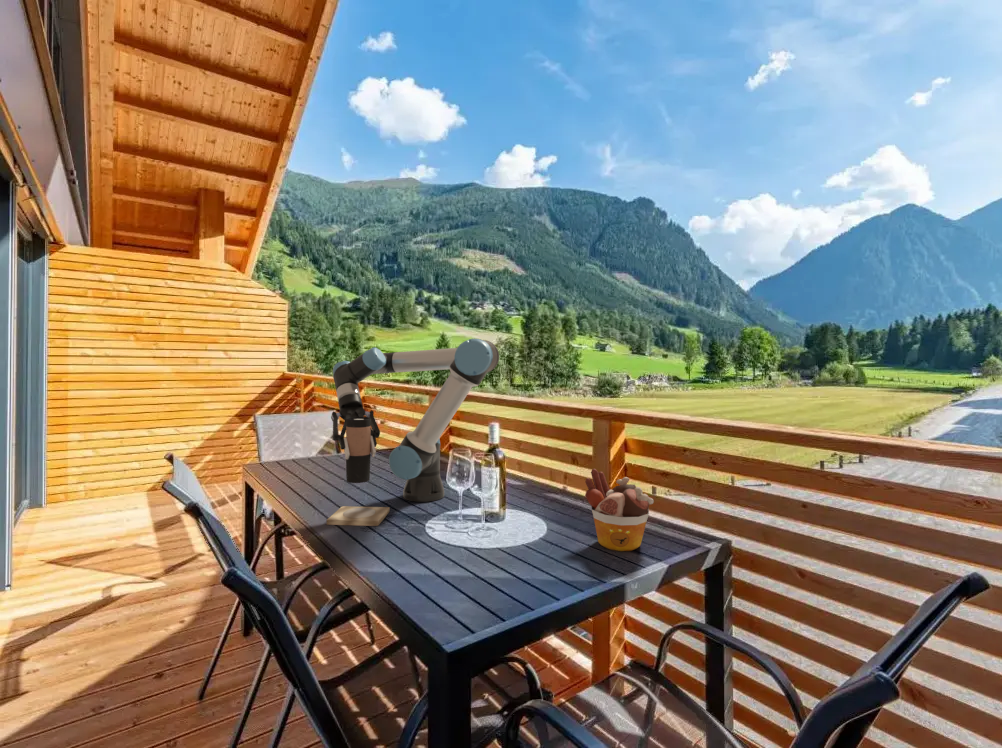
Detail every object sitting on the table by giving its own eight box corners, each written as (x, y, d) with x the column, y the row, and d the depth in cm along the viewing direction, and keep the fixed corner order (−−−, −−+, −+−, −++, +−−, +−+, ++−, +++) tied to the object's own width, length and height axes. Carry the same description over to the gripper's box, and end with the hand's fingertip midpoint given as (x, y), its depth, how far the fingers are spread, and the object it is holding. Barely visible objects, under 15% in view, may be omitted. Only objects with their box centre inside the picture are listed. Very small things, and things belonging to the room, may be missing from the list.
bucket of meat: (664, 547, 141) (666, 476, 141) (629, 562, 131) (631, 486, 130) (606, 528, 157) (608, 464, 156) (571, 540, 146) (572, 471, 145)
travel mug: (340, 481, 161) (340, 418, 160) (357, 476, 168) (358, 416, 167) (358, 484, 158) (359, 420, 157) (375, 479, 164) (376, 417, 164)
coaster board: (389, 511, 170) (389, 506, 170) (378, 525, 156) (378, 520, 156) (342, 510, 170) (342, 505, 170) (326, 524, 156) (326, 519, 156)
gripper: (377, 405, 180) (390, 459, 167) (316, 407, 170) (325, 465, 157) (381, 392, 175) (395, 446, 162) (319, 393, 165) (329, 451, 152)
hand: (361, 455), depth 159 cm, fingers closed on travel mug, 7 cm apart
